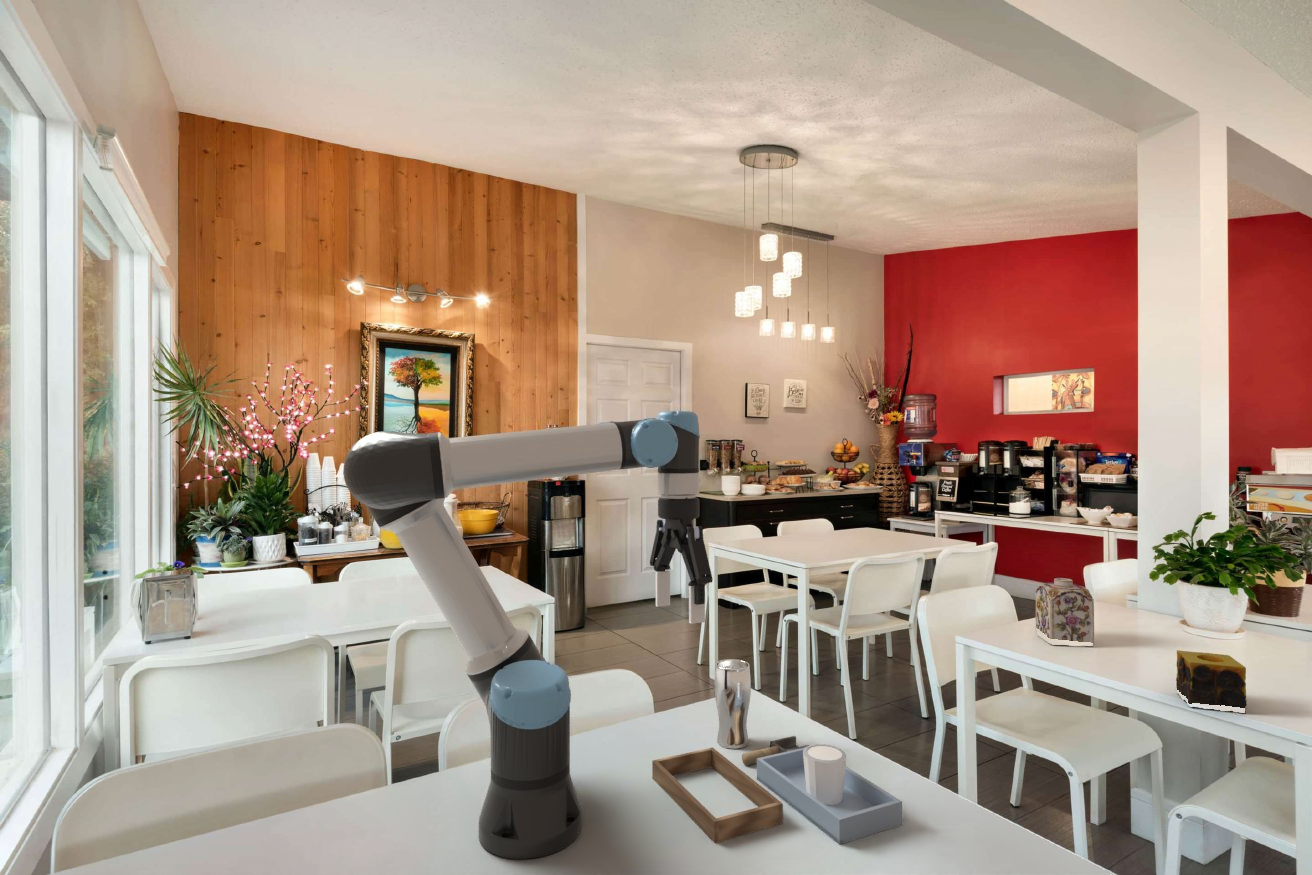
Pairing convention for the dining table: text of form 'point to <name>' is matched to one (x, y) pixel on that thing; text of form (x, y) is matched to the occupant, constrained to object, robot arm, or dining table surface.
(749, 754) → the hand scoop
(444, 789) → the dining table surface
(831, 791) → the white faceted cup
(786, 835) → the dining table surface
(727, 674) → the silver metal tumbler
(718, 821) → the walnut frame
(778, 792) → the bin
